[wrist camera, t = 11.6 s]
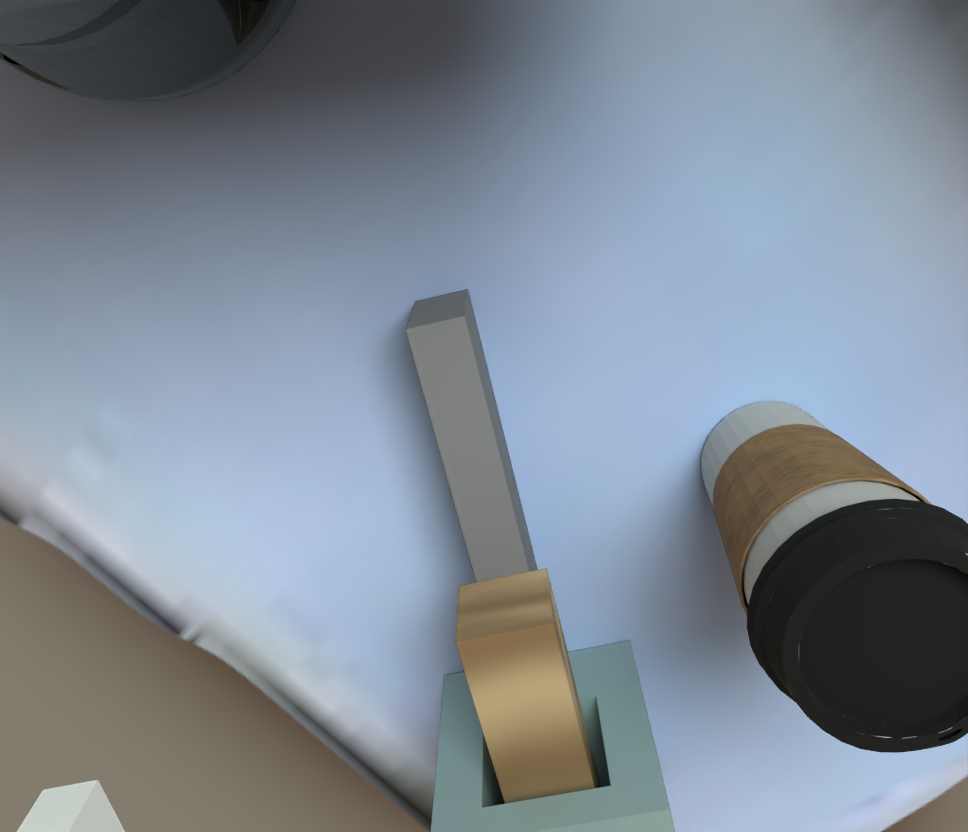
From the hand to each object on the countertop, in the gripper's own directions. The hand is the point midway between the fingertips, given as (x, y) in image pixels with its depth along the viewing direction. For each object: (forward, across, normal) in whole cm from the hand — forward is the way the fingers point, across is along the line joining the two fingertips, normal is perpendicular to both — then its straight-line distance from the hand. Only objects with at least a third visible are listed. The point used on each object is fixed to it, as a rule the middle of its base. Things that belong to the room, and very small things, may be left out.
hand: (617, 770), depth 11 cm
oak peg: (+24, -4, -19) cm, 31 cm away
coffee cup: (+29, +9, -11) cm, 32 cm away
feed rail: (+29, -4, -8) cm, 30 cm away
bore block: (+29, -4, -24) cm, 38 cm away
